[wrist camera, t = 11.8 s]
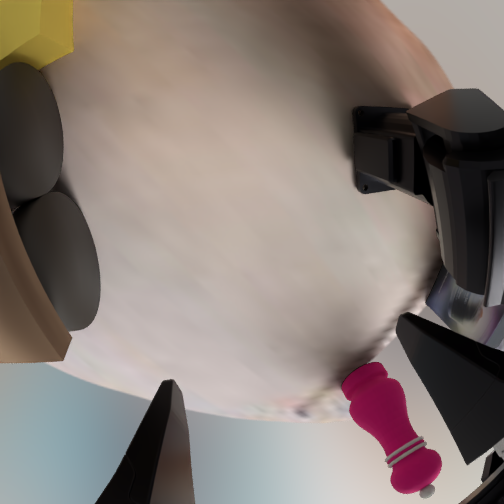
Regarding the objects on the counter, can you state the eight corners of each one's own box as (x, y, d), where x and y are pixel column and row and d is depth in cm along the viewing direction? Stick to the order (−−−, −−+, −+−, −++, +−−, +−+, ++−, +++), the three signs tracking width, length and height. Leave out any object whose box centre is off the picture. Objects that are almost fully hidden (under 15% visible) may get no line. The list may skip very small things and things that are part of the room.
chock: (74, -18, 7) (48, -44, 3) (74, 51, 11) (39, 33, 6) (20, 13, 7) (-13, -2, 2) (18, 83, 10) (-23, 79, 6)
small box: (454, 221, 23) (527, 267, 13) (479, 227, 24) (540, 267, 15) (422, 304, 27) (476, 361, 18) (450, 300, 29) (498, 347, 19)
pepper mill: (379, 381, 33) (442, 486, 15) (335, 400, 32) (391, 516, 15) (389, 351, 30) (470, 469, 12) (340, 371, 29) (413, 510, 11)
